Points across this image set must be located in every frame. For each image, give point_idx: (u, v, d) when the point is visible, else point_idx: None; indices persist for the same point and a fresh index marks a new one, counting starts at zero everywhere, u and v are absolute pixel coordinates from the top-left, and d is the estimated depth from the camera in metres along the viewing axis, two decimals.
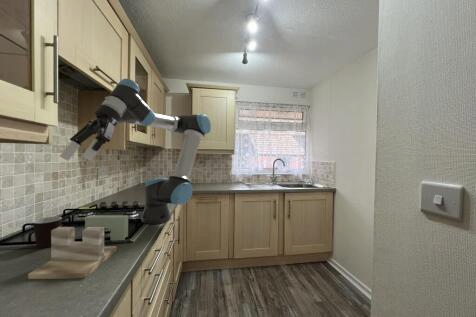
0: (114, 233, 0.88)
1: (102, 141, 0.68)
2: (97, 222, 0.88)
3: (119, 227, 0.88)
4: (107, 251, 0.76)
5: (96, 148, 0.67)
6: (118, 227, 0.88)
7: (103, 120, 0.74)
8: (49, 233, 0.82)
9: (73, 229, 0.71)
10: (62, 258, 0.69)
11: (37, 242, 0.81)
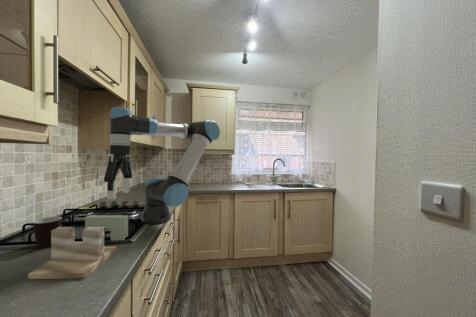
0: (114, 233, 0.88)
1: (109, 182, 0.80)
2: (97, 222, 0.88)
3: (119, 227, 0.88)
4: (107, 251, 0.76)
5: (109, 189, 0.81)
6: (118, 227, 0.88)
7: None
8: (49, 233, 0.82)
9: (73, 229, 0.71)
10: (62, 258, 0.69)
11: (37, 242, 0.81)
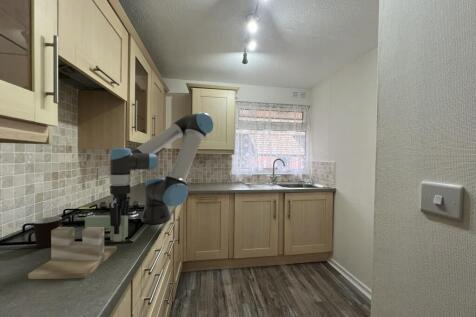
0: None
1: (115, 226, 0.86)
2: (97, 222, 0.88)
3: None
4: (107, 251, 0.76)
5: (115, 233, 0.87)
6: None
7: None
8: (49, 233, 0.82)
9: (73, 229, 0.71)
10: (62, 258, 0.69)
11: (37, 242, 0.81)
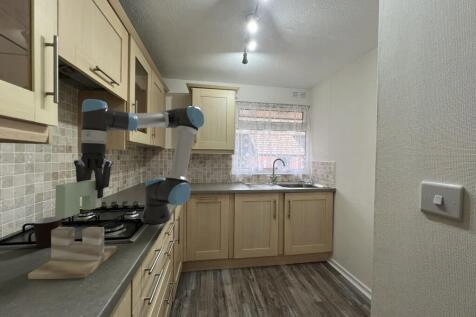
0: (93, 199, 0.76)
1: (102, 188, 0.77)
2: (78, 189, 0.69)
3: None
4: (107, 251, 0.76)
5: (101, 196, 0.77)
6: None
7: (98, 158, 0.76)
8: (49, 233, 0.82)
9: (73, 229, 0.71)
10: (62, 258, 0.69)
11: (37, 242, 0.81)
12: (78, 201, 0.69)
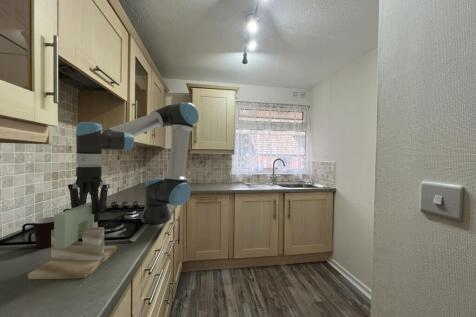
0: (90, 223, 0.75)
1: (99, 212, 0.76)
2: (76, 217, 0.67)
3: None
4: (107, 251, 0.76)
5: (98, 220, 0.76)
6: None
7: (94, 181, 0.75)
8: (49, 233, 0.82)
9: None
10: (62, 258, 0.69)
11: (37, 242, 0.81)
12: (76, 228, 0.68)
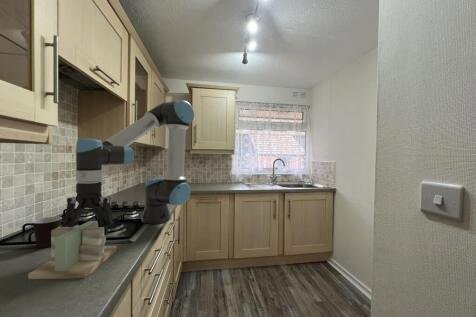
0: None
1: (107, 225, 0.77)
2: (76, 238, 0.68)
3: None
4: (107, 251, 0.76)
5: (106, 233, 0.77)
6: None
7: (94, 198, 0.75)
8: (49, 233, 0.82)
9: None
10: None
11: (37, 242, 0.81)
12: (77, 249, 0.68)
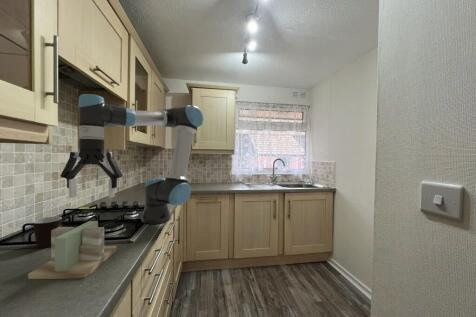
0: None
1: (116, 178, 0.77)
2: (76, 238, 0.68)
3: None
4: (107, 251, 0.76)
5: (115, 186, 0.77)
6: None
7: (97, 154, 0.75)
8: (49, 233, 0.82)
9: None
10: None
11: (37, 242, 0.81)
12: (77, 249, 0.68)
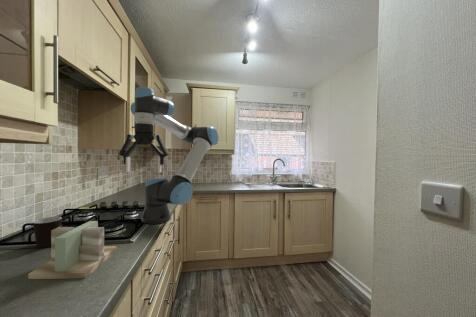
0: None
1: None
2: (76, 238, 0.68)
3: None
4: (107, 251, 0.76)
5: (163, 163, 0.93)
6: None
7: (149, 137, 0.92)
8: (49, 233, 0.82)
9: None
10: None
11: (37, 242, 0.81)
12: (77, 249, 0.68)
